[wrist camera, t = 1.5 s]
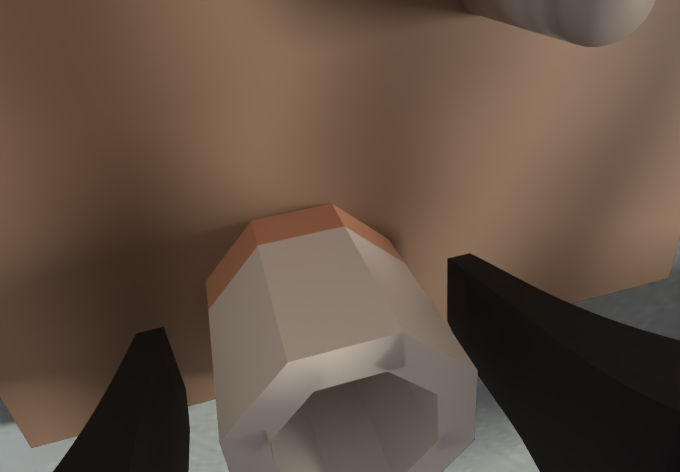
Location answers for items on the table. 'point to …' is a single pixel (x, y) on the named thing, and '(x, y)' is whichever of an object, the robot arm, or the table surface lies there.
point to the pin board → (312, 159)
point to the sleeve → (332, 353)
